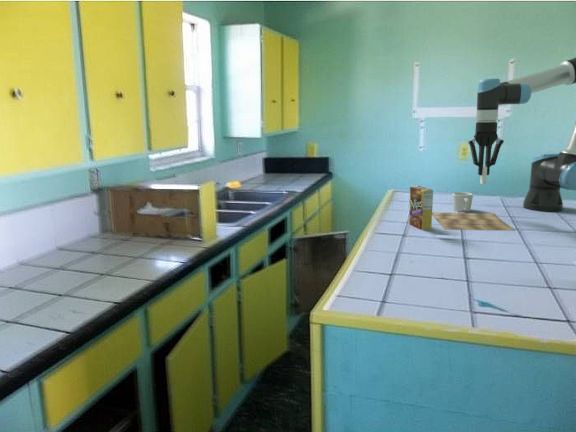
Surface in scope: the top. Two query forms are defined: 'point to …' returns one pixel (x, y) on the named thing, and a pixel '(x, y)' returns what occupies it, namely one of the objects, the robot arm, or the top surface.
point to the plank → (466, 216)
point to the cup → (462, 201)
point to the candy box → (420, 207)
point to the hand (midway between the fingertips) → (483, 183)
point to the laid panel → (474, 224)
